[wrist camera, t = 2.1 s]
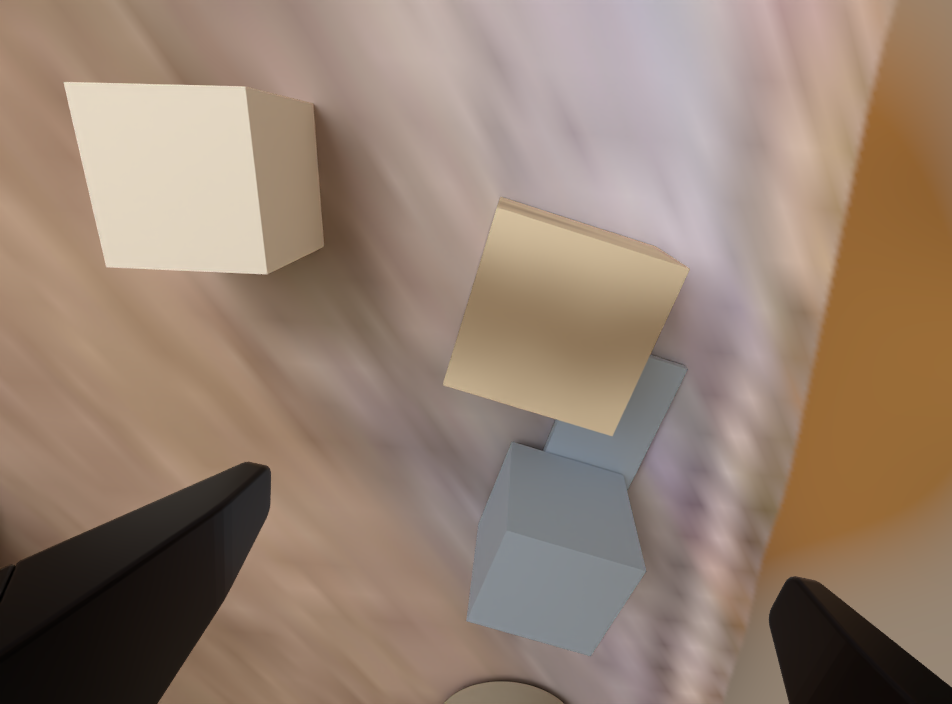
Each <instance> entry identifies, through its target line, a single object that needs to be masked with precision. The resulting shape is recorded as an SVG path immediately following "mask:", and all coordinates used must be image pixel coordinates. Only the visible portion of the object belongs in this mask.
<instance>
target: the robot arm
mask: <svg viewBox="0 0 952 704" xmlns="http://www.w3.org/2000/svg"><path fill="white" fill-rule="evenodd" d="M270 495H271V471H270V468H269V467H268V466H266V465H261V464H257V463H252V462H244V463H241V464H239V465H237V466H235V467H232V468H230V469H228V470H225V471H223V472H221V473H219V474H216V475H214V476H212V477H210V478H207V479H205V480H203V481H200V482H198V483H196V484H194V485H191V486H189V487H187V488H184V489H182V490H180V491H178V492H175V493H173V494H171V495H168V496H166V497H164V498H162V499H159V500H157V501H155V502H153V503H150V504H148V505H146V506H143V507H141V508H139V509H137V510H134V511H132V512H130V513H127V514H125V515H123V516H121V517H118V518H116V519H114V520H112V521H109V522H107V523H105V524H102V525H100V526H98V527H96V528H93V529H91V530H89V531H86V532H84V533H82V534H80V535H77V536H75V537H73V538H70V539H68V540H66V541H64V542H61V543H59V544H57V545H55V546H52V547H50V548H48V549H45V550H43V551H41V552H39V553H36V554H34V555H32V556H29V557H27V558H25V559H23V560H20V561H19V562H18V563H17V564H16V566H15V565H13V564H11V565H9V566H6V567H4V568H2V569H0V704H157V703H158V702H159V700H160V699H161V697H162V696H163V694H164V693H165V691H166V690H167V688H168V687H169V685H170V683H171V682H172V680H173V679H174V677H175V676H176V674H177V673H178V671H179V670H180V668H181V666H182V665H183V663H184V662H185V660H186V659H187V657H188V656H189V654H190V653H191V651H192V649H193V648H194V646H195V645H196V643H197V642H198V640H199V639H200V637H201V636H202V634H203V633H204V631H205V629H206V628H207V626H208V625H209V623H210V622H211V620H212V619H213V617H214V616H215V614H216V612H217V611H218V609H219V608H220V606H221V604H222V603H223V601H224V599H225V598H226V596H227V594H228V592H229V590H230V588H231V587H232V585H233V583H234V581H235V579H236V577H237V575H238V573H239V571H240V569H241V567H242V565H243V563H244V561H245V559H246V557H247V555H248V553H249V551H250V549H251V547H252V545H253V543H254V542H255V540H256V538H257V536H258V534H259V532H260V530H261V528H262V526H263V524H264V522H265V520H266V518H267V515H268V512H269V509H270ZM769 625H770V629H771V633H772V637H773V642H774V645H775V649H776V653H777V657H778V661H779V665H780V669H781V673H782V677H783V681H784V685H785V689H786V693H787V697H788V700H789V704H952V687H950V686H949V685H948V684H947V683H945V682H944V681H943V680H942V679H940V678H939V677H938V676H937V675H935V674H934V673H933V672H932V671H930V670H929V669H928V668H927V667H925V666H924V665H923V664H922V663H920V662H919V661H918V660H916V659H915V658H914V657H912V656H911V655H910V654H909V653H908V652H906V651H905V650H904V649H903V648H901V647H900V646H899V645H898V644H896V643H895V642H894V641H893V640H891V639H890V638H889V637H888V636H886V635H885V634H884V633H883V632H881V631H880V630H879V629H877V628H876V627H875V626H874V625H872V624H871V623H870V622H869V621H867V620H866V619H865V618H863V617H862V616H861V615H860V614H859V613H857V612H856V611H855V610H854V609H852V608H851V607H850V606H849V605H847V604H846V603H845V602H843V601H842V600H841V599H840V598H838V597H837V596H836V595H835V594H833V593H832V592H831V591H830V590H828V589H827V588H826V587H824V586H823V585H822V584H821V583H819V582H817V581H815V580H810V579H806V578H801V577H796V576H795V577H790V578H789V579H787V581H786V582H785V584H784V585H783V587H782V589H781V591H780V593H779V595H778V597H777V598H776V600H775V602H774V604H773V606H772V608H771V610H770V614H769Z"/></svg>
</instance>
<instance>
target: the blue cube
mask: <svg viewBox="0 0 952 704" xmlns="http://www.w3.org/2000/svg"><path fill="white" fill-rule="evenodd" d="M645 573H646V568H645V564H644V559H643V555H642V551H641V547H640V543H639V539H638V534H637V530H636V526H635V522H634V518H633V514H632V509H631V505H630V501H629V497H628V493H627V489H626V484H625V480H624V476H623V475H621V474H618V473H615V472H611V471H608V470H605V469H601V468H598V467H595V466H591V465H588V464H585V463H581V462H578V461H575V460H571V459H568V458H565V457H561V456H558V455H555V454H551V453H548V452H545V451H541V450H538V449H535V448H531V447H528V446H525V445H521V444H518V443H515V442H512V443H511V445H510V447H509V450H508V452H507V455H506V457H505V460H504V462H503V465H502V467H501V470H500V472H499V475H498V477H497V480H496V482H495V484H494V487H493V489H492V492H491V494H490V497H489V499H488V502H487V504H486V507H485V509H484V512H483V514H482V517H481V519H480V521H479V524H478V532H477V540H476V548H475V556H474V564H473V572H472V580H471V588H470V596H469V604H468V612H467V620H466V621H468V622H471V623H475V624H479V625H482V626H486V627H489V628H493V629H496V630H500V631H503V632H507V633H510V634H514V635H517V636H521V637H524V638H528V639H531V640H535V641H538V642H542V643H545V644H549V645H552V646H556V647H560V648H563V649H567V650H570V651H574V652H577V653H581V654H584V655H588V656H591V655H592V653H593V652H594V650H595V649H596V647H597V646H598V644H599V643H600V641H601V640H602V638H603V637H604V635H605V634H606V632H607V630H608V629H609V627H610V626H611V624H612V623H613V621H614V620H615V618H616V617H617V615H618V614H619V612H620V611H621V609H622V608H623V606H624V605H625V603H626V601H627V600H628V598H629V597H630V595H631V594H632V592H633V591H634V589H635V588H636V586H637V585H638V583H639V582H640V580H641V579H642V577H643V576H644V574H645Z"/></svg>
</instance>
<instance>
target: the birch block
mask: <svg viewBox="0 0 952 704" xmlns="http://www.w3.org/2000/svg"><path fill="white" fill-rule="evenodd" d="M689 270H690V269H689V268H688V267H686V266H685V265H683V264H682V263H680V262H679V261H677V260H676V259H674V258H672V257H671V256H669V255H668V254H666V253H665V252H663V251H662V250H660V249H659V248H657V247H656V246H653V245H649V244H646V243H643V242H640V241H637V240H634V239H631V238H628V237H624V236H621V235H618V234H615V233H612V232H609V231H606V230H603V229H599V228H596V227H593V226H590V225H587V224H584V223H581V222H578V221H575V220H571V219H568V218H565V217H562V216H559V215H556V214H553V213H550V212H546V211H543V210H540V209H537V208H534V207H531V206H528V205H525V204H522V203H518V202H515V201H512V200H509V199H506V198H503V197H500V199H499V203H498V206H497V209H496V212H495V216H494V219H493V222H492V225H491V229H490V232H489V235H488V238H487V242H486V245H485V248H484V252H483V255H482V258H481V261H480V265H479V268H478V271H477V274H476V278H475V281H474V284H473V287H472V291H471V294H470V297H469V300H468V304H467V307H466V310H465V314H464V317H463V320H462V323H461V327H460V330H459V333H458V336H457V340H456V343H455V346H454V349H453V353H452V356H451V359H450V363H449V366H448V369H447V372H446V376H445V379H444V382H443V385H444V386H448V387H451V388H454V389H457V390H461V391H464V392H467V393H471V394H474V395H477V396H481V397H484V398H487V399H491V400H494V401H497V402H500V403H504V404H507V405H510V406H514V407H517V408H520V409H524V410H527V411H530V412H533V413H537V414H540V415H543V416H547V417H550V418H553V419H557V420H560V421H563V422H566V423H570V424H573V425H576V426H580V427H583V428H586V429H590V430H593V431H596V432H599V433H603V434H606V435H609V436H613V434H614V432H615V430H616V428H617V425H618V423H619V421H620V419H621V417H622V415H623V412H624V410H625V408H626V406H627V404H628V402H629V399H630V397H631V395H632V393H633V391H634V389H635V387H636V384H637V382H638V380H639V378H640V376H641V374H642V371H643V369H644V367H645V365H646V363H647V361H648V358H649V356H650V354H651V352H652V350H653V348H654V345H655V343H656V341H657V339H658V337H659V335H660V333H661V330H662V328H663V326H664V324H665V322H666V320H667V317H668V315H669V313H670V311H671V309H672V307H673V304H674V302H675V300H676V298H677V296H678V294H679V292H680V289H681V287H682V285H683V283H684V281H685V279H686V276H687V274H688V272H689Z"/></svg>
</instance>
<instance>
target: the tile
mask: <svg viewBox="0 0 952 704" xmlns="http://www.w3.org/2000/svg"><path fill="white" fill-rule="evenodd" d="M687 370H688V369H687V368H686V366H685V365H682V364H679V363H675V362H672V361H669V360H666V359H663V358H659V357H656V356H653V355H650V356H649V358H648V361H647V363H646V365H645V367H644V369H643V371H642V374H641V376H640V378H639V380H638V382H637V384H636V387H635V389H634V391H633V393H632V395H631V397H630V399H629V402H628V404H627V406H626V408H625V410H624V412H623V415H622V417H621V419H620V421H619V423H618V425H617V428H616V430H615V432H614V434H613V436H609V435H606V434H603V433H599V432H596V431H593V430H590V429H586V428H583V427H580V426H576V425H573V424H570V423H566V422H563V421H560V420H557V419H556V420H555V422H554V425H553V427H552V430H551V432H550V435H549V437H548V440H547V442H546V444H545V447H544V449H543V451H545V452H548V453H551V454H555V455H558V456H561V457H565V458H568V459H571V460H575V461H578V462H581V463H585V464H588V465H591V466H595V467H598V468H601V469H605V470H608V471H611V472H615V473H618V474H621V475H623V476H624V480H625V484H626V489H627V490H628V488H629V486H630V484H631V482H632V480H633V478H634V476H635V474H636V472H637V470H638V468H639V466H640V464H641V462H642V460H643V458H644V456H645V454H646V452H647V450H648V448H649V446H650V444H651V442H652V440H653V438H654V436H655V434H656V432H657V430H658V428H659V426H660V424H661V422H662V420H663V418H664V416H665V414H666V412H667V410H668V408H669V406H670V404H671V402H672V400H673V398H674V396H675V394H676V392H677V390H678V388H679V386H680V384H681V382H682V380H683V378H684V376H685V374H686V372H687Z"/></svg>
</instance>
